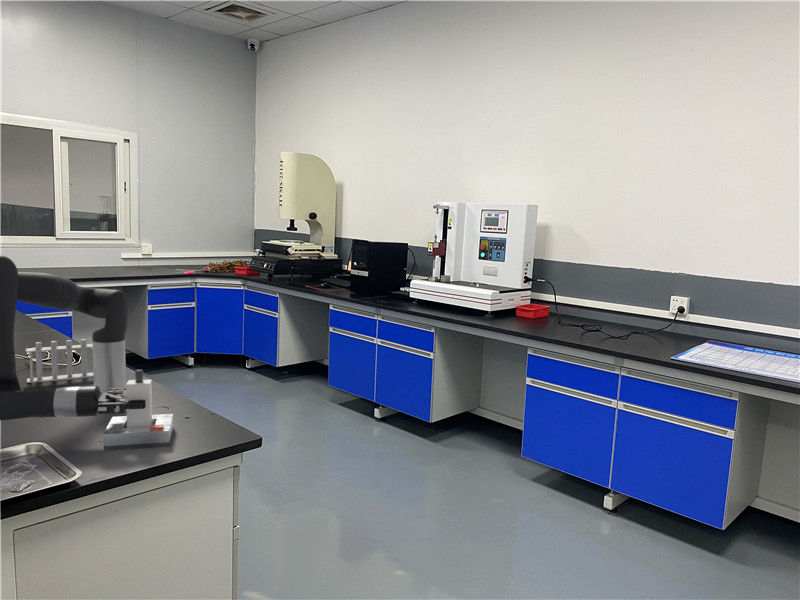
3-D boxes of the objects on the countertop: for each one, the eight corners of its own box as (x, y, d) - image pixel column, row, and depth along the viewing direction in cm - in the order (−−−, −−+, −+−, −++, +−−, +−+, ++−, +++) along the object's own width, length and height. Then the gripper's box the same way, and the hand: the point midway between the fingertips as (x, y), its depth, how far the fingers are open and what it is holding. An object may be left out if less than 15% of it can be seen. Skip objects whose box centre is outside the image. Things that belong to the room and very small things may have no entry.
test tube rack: (109, 372, 212) (108, 336, 210) (111, 376, 208) (110, 339, 207) (26, 380, 198) (25, 342, 196) (27, 384, 195) (25, 344, 193)
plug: (129, 432, 154) (128, 368, 152) (152, 431, 156) (151, 368, 154) (127, 438, 151) (126, 372, 148) (150, 436, 152) (149, 372, 150)
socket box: (112, 431, 157) (112, 413, 157) (173, 427, 162) (173, 411, 161) (103, 450, 145) (103, 431, 145) (169, 446, 149) (168, 427, 149)
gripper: (70, 395, 141) (144, 392, 145) (83, 379, 154) (150, 377, 159) (71, 425, 142) (144, 422, 146) (84, 407, 155) (151, 404, 160)
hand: (147, 398), depth 153 cm, fingers open, 8 cm apart
